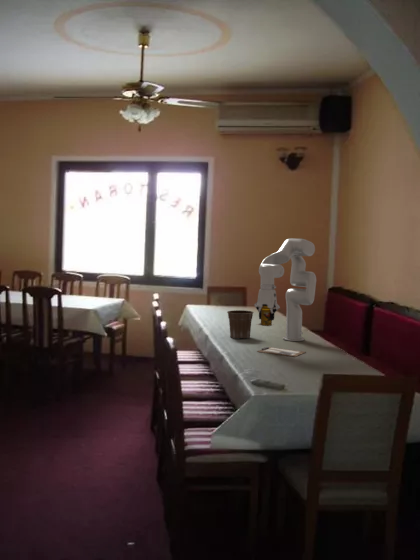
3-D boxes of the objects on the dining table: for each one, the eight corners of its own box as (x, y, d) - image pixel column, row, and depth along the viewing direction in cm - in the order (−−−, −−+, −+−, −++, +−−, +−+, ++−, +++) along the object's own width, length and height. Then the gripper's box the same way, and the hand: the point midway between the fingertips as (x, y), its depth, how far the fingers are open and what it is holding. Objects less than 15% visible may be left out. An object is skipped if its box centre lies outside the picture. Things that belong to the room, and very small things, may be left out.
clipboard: (269, 347, 324) (269, 345, 323) (305, 352, 312) (305, 350, 312) (257, 351, 311) (257, 349, 311) (295, 357, 299) (295, 354, 299)
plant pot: (222, 338, 351) (222, 312, 350) (233, 334, 365) (234, 309, 364) (246, 340, 343) (247, 314, 342) (256, 336, 358) (257, 311, 356)
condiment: (268, 326, 312) (269, 304, 311) (255, 325, 316) (255, 303, 315) (274, 324, 318) (275, 303, 317) (261, 323, 323) (261, 302, 322)
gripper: (284, 287, 313) (283, 320, 315) (256, 285, 323) (256, 317, 324) (278, 289, 307) (277, 322, 309) (250, 286, 316) (249, 319, 318)
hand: (266, 319), depth 317 cm, fingers closed on condiment, 6 cm apart
